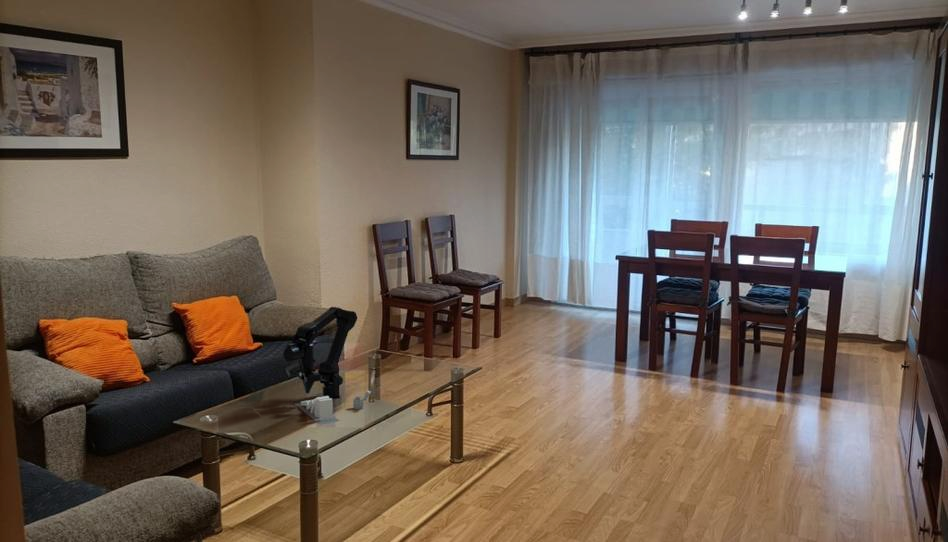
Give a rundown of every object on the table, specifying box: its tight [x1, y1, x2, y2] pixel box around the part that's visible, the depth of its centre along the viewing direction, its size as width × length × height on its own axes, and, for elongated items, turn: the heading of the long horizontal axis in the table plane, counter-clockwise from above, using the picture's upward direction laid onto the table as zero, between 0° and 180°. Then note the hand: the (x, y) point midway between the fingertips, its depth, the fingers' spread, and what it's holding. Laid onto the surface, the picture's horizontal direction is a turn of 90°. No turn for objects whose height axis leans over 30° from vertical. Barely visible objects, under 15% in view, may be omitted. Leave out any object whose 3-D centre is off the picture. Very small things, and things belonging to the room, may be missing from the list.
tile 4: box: [319, 398, 334, 421], centre depth 275 cm, size 2×5×8 cm, turn 122°
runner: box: [294, 402, 340, 425], centre depth 284 cm, size 30×8×1 cm, turn 33°
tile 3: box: [315, 396, 329, 417], centre depth 278 cm, size 2×5×8 cm, turn 123°
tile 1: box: [306, 399, 314, 411], centre depth 285 cm, size 2×5×8 cm
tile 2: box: [310, 398, 316, 414], centre depth 281 cm, size 2×5×8 cm
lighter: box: [352, 389, 372, 410], centre depth 289 cm, size 7×2×8 cm, turn 82°
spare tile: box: [300, 399, 312, 406], centre depth 290 cm, size 2×5×8 cm
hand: (307, 393), depth 292 cm, fingers closed
